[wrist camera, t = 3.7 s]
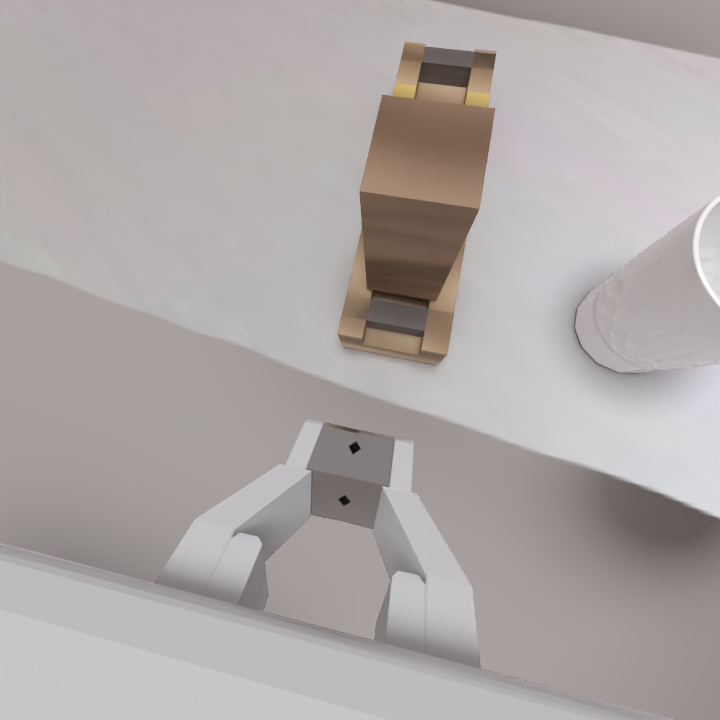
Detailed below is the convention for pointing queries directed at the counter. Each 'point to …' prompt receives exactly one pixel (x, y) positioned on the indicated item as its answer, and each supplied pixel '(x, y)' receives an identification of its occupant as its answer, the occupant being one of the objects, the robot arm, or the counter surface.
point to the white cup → (660, 303)
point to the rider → (421, 192)
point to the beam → (434, 318)
